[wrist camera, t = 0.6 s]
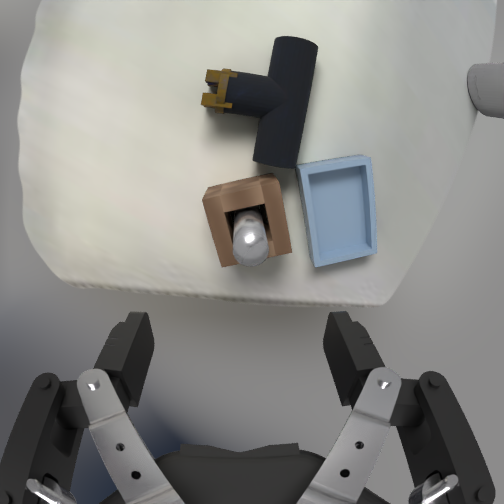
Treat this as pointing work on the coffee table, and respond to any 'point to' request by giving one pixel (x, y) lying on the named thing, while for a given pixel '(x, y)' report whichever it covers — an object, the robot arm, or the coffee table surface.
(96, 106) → the coffee table surface
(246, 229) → the pin
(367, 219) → the tray
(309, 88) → the pipe connector
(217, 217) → the pin block
